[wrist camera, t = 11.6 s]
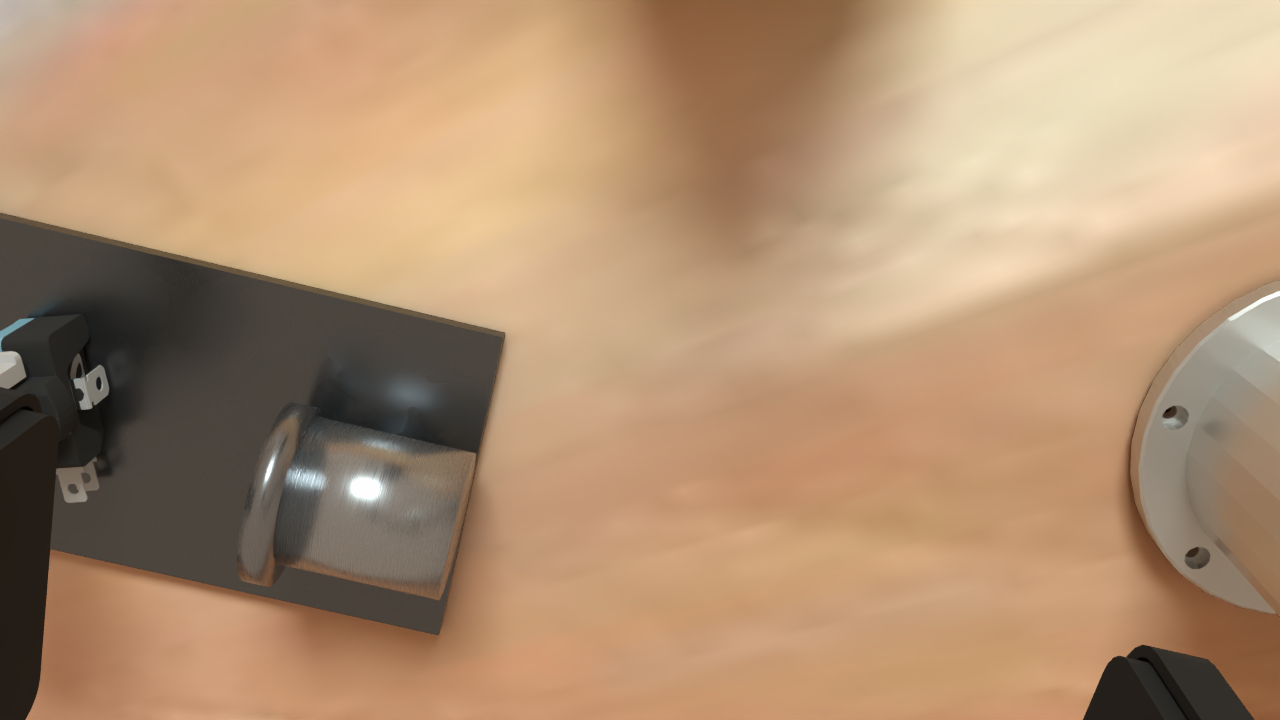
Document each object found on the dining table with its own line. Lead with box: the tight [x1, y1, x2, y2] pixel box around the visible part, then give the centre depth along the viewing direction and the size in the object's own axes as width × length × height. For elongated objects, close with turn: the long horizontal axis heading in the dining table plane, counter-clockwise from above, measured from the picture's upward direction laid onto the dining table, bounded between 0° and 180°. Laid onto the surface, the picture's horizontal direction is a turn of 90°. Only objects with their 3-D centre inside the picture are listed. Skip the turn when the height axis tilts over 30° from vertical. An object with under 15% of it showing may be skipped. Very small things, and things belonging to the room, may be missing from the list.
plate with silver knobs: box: [0, 213, 505, 635], centre depth 39 cm, size 28×12×6 cm, turn 76°
